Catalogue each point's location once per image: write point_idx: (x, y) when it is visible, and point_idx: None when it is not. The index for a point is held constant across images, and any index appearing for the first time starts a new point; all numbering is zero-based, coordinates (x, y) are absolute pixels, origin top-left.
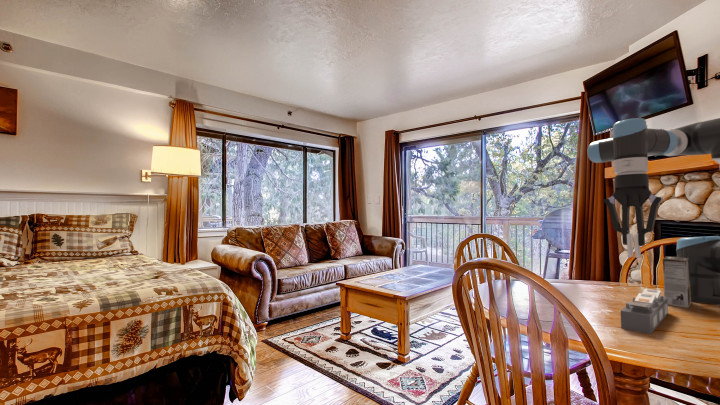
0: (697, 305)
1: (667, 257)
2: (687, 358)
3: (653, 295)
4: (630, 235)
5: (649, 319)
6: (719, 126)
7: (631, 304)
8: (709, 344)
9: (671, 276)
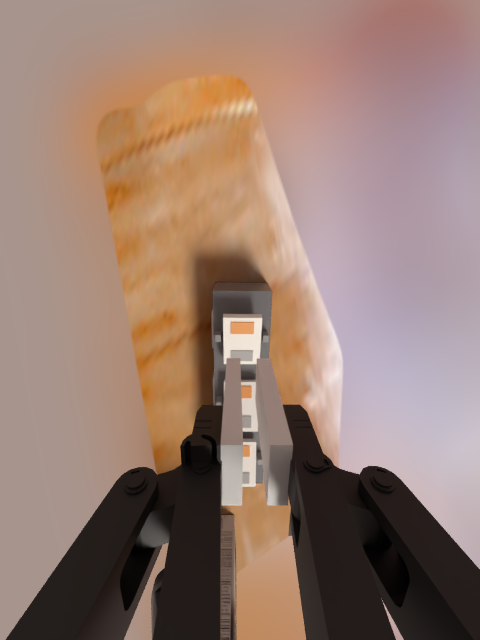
0: None
1: None
2: (137, 166)
3: None
4: (268, 445)
5: (214, 288)
6: None
7: (253, 314)
8: (129, 296)
9: None
